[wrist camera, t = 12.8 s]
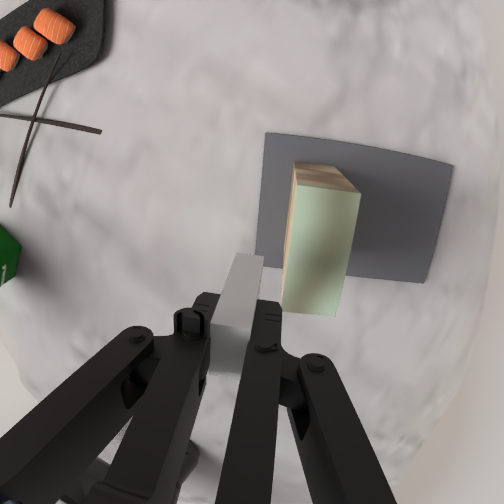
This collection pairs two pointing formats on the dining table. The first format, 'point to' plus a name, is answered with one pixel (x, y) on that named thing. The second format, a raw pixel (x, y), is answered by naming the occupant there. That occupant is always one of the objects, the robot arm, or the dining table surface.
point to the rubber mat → (361, 204)
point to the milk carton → (8, 256)
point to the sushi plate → (47, 52)
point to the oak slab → (317, 239)
